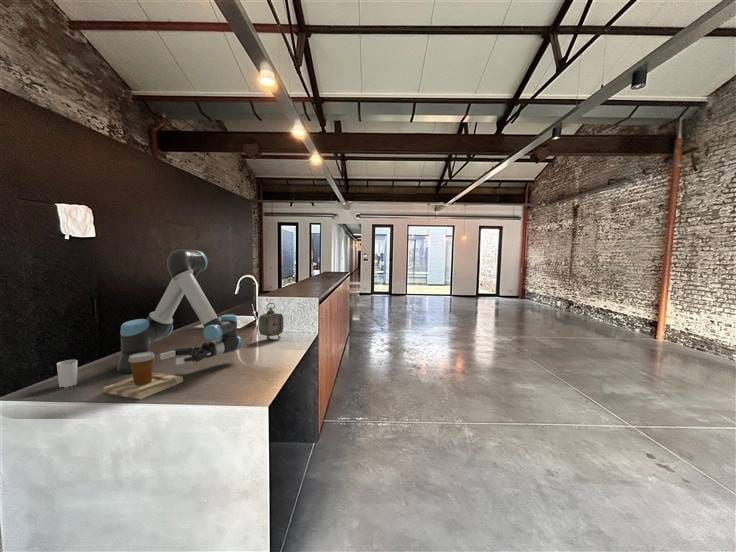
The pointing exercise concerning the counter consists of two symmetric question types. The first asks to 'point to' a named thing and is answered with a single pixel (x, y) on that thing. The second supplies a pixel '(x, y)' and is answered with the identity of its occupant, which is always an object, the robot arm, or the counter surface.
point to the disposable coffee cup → (142, 367)
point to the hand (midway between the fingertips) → (168, 359)
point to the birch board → (143, 386)
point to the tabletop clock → (271, 323)
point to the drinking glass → (67, 373)
